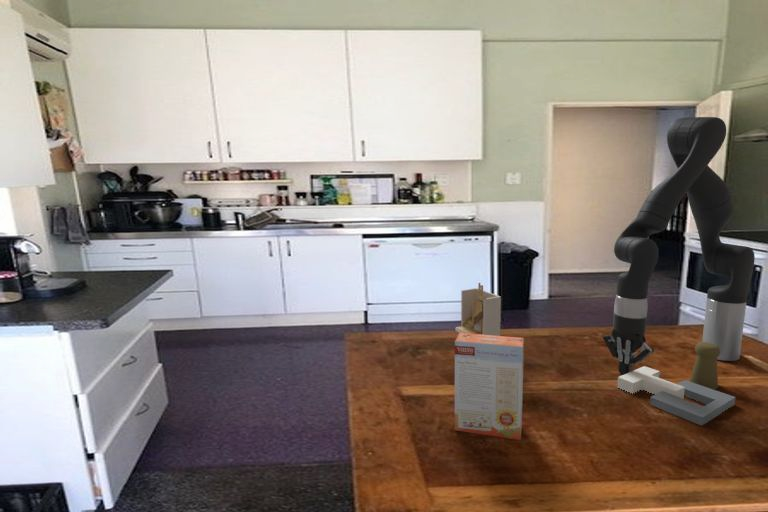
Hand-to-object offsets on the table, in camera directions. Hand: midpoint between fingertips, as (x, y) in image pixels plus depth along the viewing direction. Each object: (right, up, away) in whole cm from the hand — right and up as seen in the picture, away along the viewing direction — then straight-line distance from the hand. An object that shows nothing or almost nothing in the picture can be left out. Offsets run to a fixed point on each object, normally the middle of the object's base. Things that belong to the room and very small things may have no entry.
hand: (624, 375), depth 120 cm
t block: (+4, -2, -6) cm, 8 cm away
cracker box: (-41, -6, -21) cm, 47 cm away
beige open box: (-36, -1, +13) cm, 38 cm away
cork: (+19, -2, -3) cm, 19 cm away
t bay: (+9, -4, -13) cm, 16 cm away
